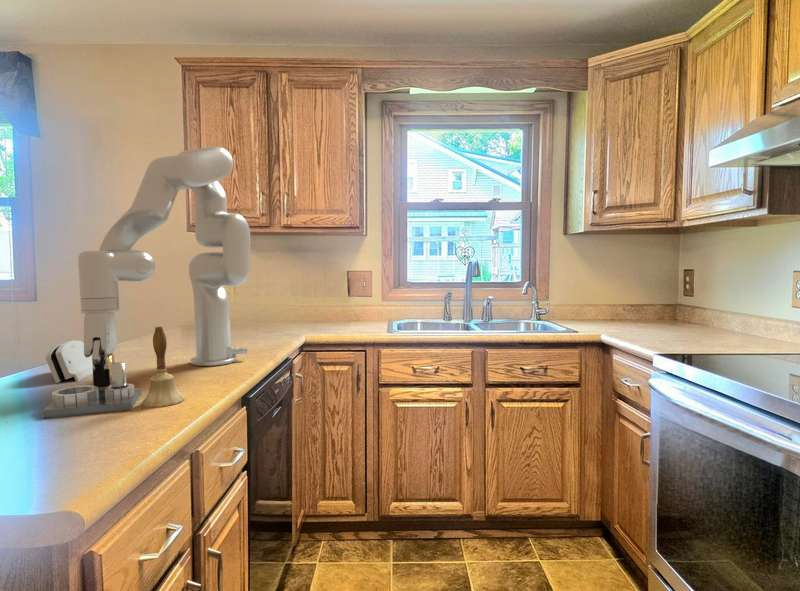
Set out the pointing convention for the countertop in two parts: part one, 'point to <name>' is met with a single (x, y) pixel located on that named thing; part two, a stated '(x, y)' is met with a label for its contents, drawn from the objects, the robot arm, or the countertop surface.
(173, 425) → the countertop surface
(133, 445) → the countertop surface
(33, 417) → the countertop surface
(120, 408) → the plate
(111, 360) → the brass nipple
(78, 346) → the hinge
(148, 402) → the hand bell
